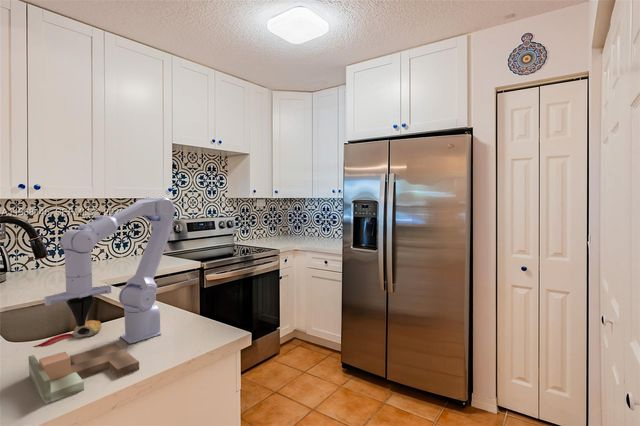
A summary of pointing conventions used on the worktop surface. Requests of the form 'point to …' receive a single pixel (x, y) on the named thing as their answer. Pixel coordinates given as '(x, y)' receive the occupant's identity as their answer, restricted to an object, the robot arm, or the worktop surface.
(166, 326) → the worktop surface
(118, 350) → the blocky structure
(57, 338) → the cayenne pepper
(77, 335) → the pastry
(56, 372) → the block
